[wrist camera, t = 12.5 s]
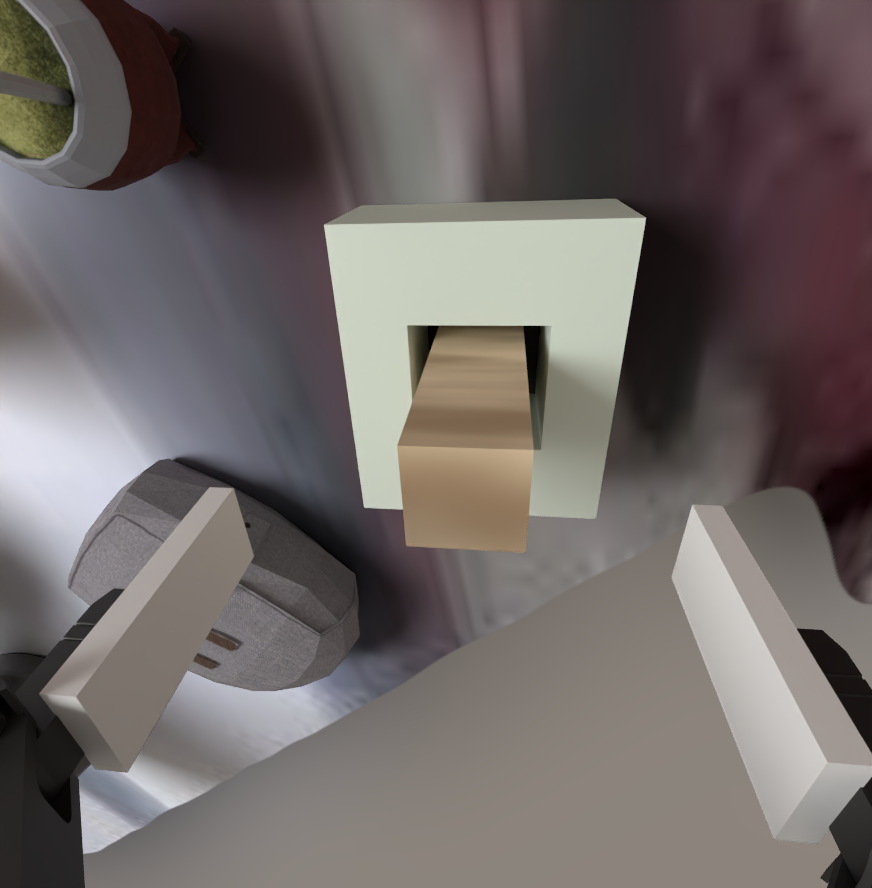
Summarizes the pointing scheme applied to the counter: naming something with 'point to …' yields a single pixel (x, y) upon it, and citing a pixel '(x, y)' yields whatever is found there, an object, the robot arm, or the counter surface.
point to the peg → (469, 443)
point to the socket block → (488, 323)
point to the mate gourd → (90, 93)
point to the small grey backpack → (256, 595)
